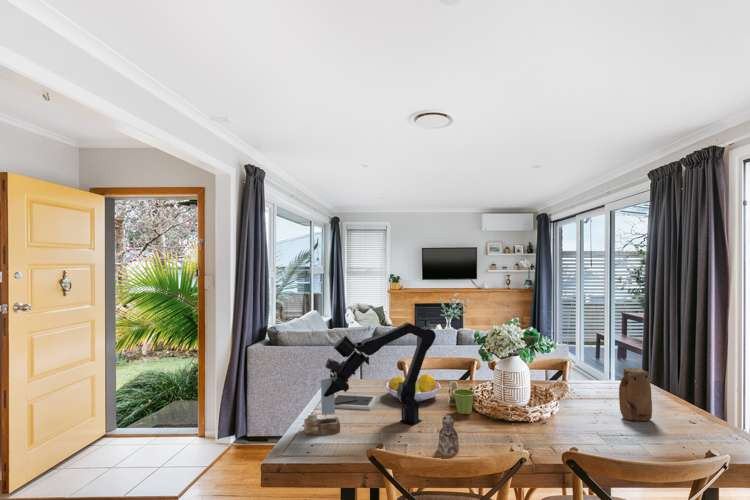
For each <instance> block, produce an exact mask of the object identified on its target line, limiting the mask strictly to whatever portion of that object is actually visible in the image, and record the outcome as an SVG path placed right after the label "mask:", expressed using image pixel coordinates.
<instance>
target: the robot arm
mask: <svg viewBox="0 0 750 500" xmlns="http://www.w3.org/2000/svg"><path fill="white" fill-rule="evenodd" d="M409 334H412V335H413V336H416V348H415V351H414V353H413V354H414V355H413V356H412V358H411V359H412V360H411V362H410V366H409V367H408V371H407V374H406V377H405V378H406V379H405V380H404V382H403V383H402V382H399V385H398V388H397V390H396V391H397V397H398V398H397V399H398V400H399V402H401V404H402V405H401V412H400V413H401V419H400V420H399V422H400V423H403V424H405V425H409V426H414V425H416V424H418V423H420V422H422V420H421V419H420V418H419V417H420V415H419V413H420V412H419V408H420V406H421V405H420V402H417V401H416V399H415V385H416V381H417V378H419V374H420V372H421V369H422V367H423V363H424V362H425V361H424V360H425V359H426V355H427V352H428V350H429V349H430V348H431V347H432V346H433V343H434V342H435V340H436V337H437V334H436V332H435V331H434V329H431V328H429V327H428V326H422V327H420V326H417V325H415V324H413V323H410V322H405V323H403V324H401V325H399V326H397V327H395V328H392V329H391V330H389V331H386V332H385V333H382V334H380V335H376V336H370V337H367V338H364V339H362V340H361V341H359V342H358V341H357V342H354V343H353V341H351V340H350V338H349V337H348V336H347V335H344V336H343V337H342V338H340V339H339V340H338V341H336V343H335V344H334V345H333V349H334V350H335V351H336V352H338V354H339V355H340V356H342V357H343V358H347V359H346V360H343V361H341V362H339V361H337V360H335V359H332V358H329V357H328V359H327V360H326V363H325V364H324V365H325V368H326V369H328V370H329V372H330V373H329V377H334V379H331V382H332V383H331V385H330V387H329V388H328V389H327V391H326V392H325V394H324V396H325V397H327V396H330V395H332V394H334V395H335V394H337V393H338V392H342V391H343V392H344V393H347V391H348V390H349V389H350V385H349V379H350V378H351V377H352V376H353V375H354V376H355V374H356V372H357V371H358V370H359V368H360V367H361V366H362V364H364V362H365V363H366V364H367V365H369V364H370V357H369V356H372V355H374V354H376V353H377V352H378V351H380V349H382V348H383V347H384V346H386V345H388V344H389V343H392V342H394V341H396V340H398V339H400V338H402V337H404V336H406V335H409ZM365 355H366V356H365Z"/></svg>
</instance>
